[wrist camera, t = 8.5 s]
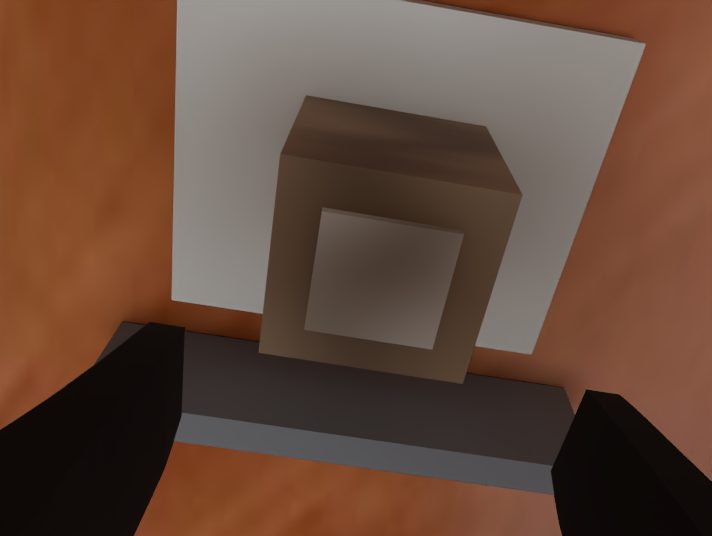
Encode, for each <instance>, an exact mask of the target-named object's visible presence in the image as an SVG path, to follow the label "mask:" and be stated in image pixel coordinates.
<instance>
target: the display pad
mask: <svg viewBox="0 0 712 536" xmlns="http://www.w3.org/2000/svg"><path fill="white" fill-rule="evenodd" d="M645 45H646V44H645V43H643V42H640V41H638V40H636V39H633V38H630V37H624V36H619V35H613V34H607V33H602V32H596V31H590V30H585V29H579V28H574V27H568V26H562V25H557V24H551V23H545V22H540V21H534V20H529V19H523V18H517V17H512V16H506V15H500V14H495V13H489V12H484V11H478V10H472V9H467V8H461V7H455V6H450V5H444V4H439V3H433V2H427V1H422V0H177V39H176V93H175V147H174V200H173V254H172V300H175V301H182V302H188V303H195V304H201V305H208V306H215V307H221V308H228V309H234V310H241V311H247V312H254V313H261V314H263V306H264V297H265V288H266V279H267V270H268V261H269V251H270V242H271V233H272V224H273V215H274V206H275V197H276V187H277V178H278V169H279V160H280V153H281V151H282V149H283V146H284V144H285V142H286V140H287V137H288V135H289V133H290V130H291V128H292V126H293V124H294V121H295V119H296V117H297V115H298V112H299V110H300V108H301V106H302V103H303V101H304V99H305V97H306V95H308V96H314V97H320V98H325V99H331V100H337V101H343V102H348V103H354V104H360V105H366V106H371V107H377V108H383V109H389V110H394V111H400V112H406V113H412V114H417V115H423V116H429V117H435V118H440V119H446V120H452V121H458V122H463V123H469V124H475V125H481V126H486V127H487V129H488V131H489V133H490V135H491V137H492V138H493V140H494V142H495V144H496V146H497V148H498V150H499V152H500V153H501V155H502V157H503V159H504V161H505V163H506V165H507V166H508V168H509V170H510V172H511V174H512V176H513V178H514V179H515V181H516V183H517V185H518V187H519V189H520V191H521V192H522V194H523V196H522V199H521V202H520V205H519V208H518V211H517V215H516V218H515V221H514V224H513V227H512V230H511V233H510V237H509V240H508V243H507V246H506V249H505V252H504V256H503V259H502V262H501V265H500V268H499V271H498V275H497V278H496V281H495V284H494V287H493V290H492V294H491V297H490V300H489V303H488V306H487V309H486V313H485V316H484V319H483V322H482V325H481V328H480V331H479V335H478V338H477V341H476V344H475V346H478V347H484V348H491V349H497V350H504V351H511V352H517V353H524V354H530V355H532V352H533V350H534V347H535V344H536V342H537V339H538V336H539V333H540V331H541V328H542V325H543V323H544V320H545V317H546V314H547V312H548V309H549V306H550V304H551V301H552V298H553V295H554V293H555V290H556V287H557V284H558V282H559V279H560V276H561V274H562V271H563V268H564V265H565V263H566V260H567V257H568V255H569V252H570V249H571V246H572V244H573V241H574V238H575V236H576V233H577V230H578V227H579V225H580V222H581V219H582V217H583V214H584V211H585V208H586V206H587V203H588V200H589V198H590V195H591V192H592V189H593V187H594V184H595V181H596V178H597V176H598V173H599V170H600V168H601V165H602V162H603V159H604V157H605V154H606V151H607V149H608V146H609V143H610V140H611V138H612V135H613V132H614V130H615V127H616V124H617V121H618V119H619V116H620V113H621V111H622V108H623V105H624V102H625V100H626V97H627V94H628V92H629V89H630V86H631V83H632V81H633V78H634V75H635V73H636V70H637V67H638V64H639V62H640V59H641V56H642V53H643V51H644V48H645Z"/></svg>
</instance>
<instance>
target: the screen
mask: <svg viewBox="0 0 712 536" xmlns="http://www.w3.org/2000/svg"><path fill="white" fill-rule="evenodd" d="M144 326H145V325H141V324H134V323H127V322H122V323H121V324H120V326H119V327H118V329H117V331H116V332H115V334H114V335H113V337H112V338H111V340H110V341H109V343H108V344H107V346H106V347H105V349H104V350H103V352H102V353H101V355H100V356H99V358H98V360H97V361H96V363H97V362H99V361H100V360H101V359H103V358H104V357H105V356H106V355H108V354H109V353H110V352H112V351H113V350H114V349H115V348H117V347H118V346H119V345H121V344H122V343H123V342H124V341H126V340H127V339H128V338H129V337H131V336H132V335H133V334H134V333H136V332H137V331H138V330H140V329H141V328H142V327H144ZM259 343H260V342H254V341H248V340H241V339H234V338H227V337H221V336H214V335H207V334H201V333H194V332H187V331H185V339H184V366H183V393H182V417H181V420H180V423H179V426H178V429H177V433H176V436H175V439H174V441H177V442H184V443H191V444H198V445H205V446H213V447H220V448H227V449H234V450H241V451H248V452H255V453H262V454H269V455H276V456H283V457H290V458H297V459H304V460H312V461H319V462H326V463H333V464H340V465H347V466H354V467H361V468H368V469H375V470H382V471H389V472H396V473H403V474H411V475H418V476H425V477H432V478H439V479H446V480H453V481H460V482H467V483H474V484H481V485H488V486H495V487H503V488H510V489H517V490H524V491H531V492H538V493H545V494H552V495H554V490H553V483H552V477H551V469H552V467H553V464H554V462H555V460H556V458H557V455H558V453H559V451H560V449H561V446H562V444H563V442H564V439H565V437H566V435H567V433H568V430H569V428H570V426H571V423H572V421H573V419H574V417H575V414H574V412H573V409H572V407H571V404H570V402H569V399H568V397H567V394H566V392H565V389H564V388H561V387H555V386H548V385H541V384H535V383H528V382H521V381H515V380H508V379H501V378H495V377H488V376H481V375H475V374H468V373H466V376H465V379H464V382H463V384H460V383H453V382H447V381H440V380H434V379H427V378H421V377H414V376H408V375H401V374H394V373H388V372H381V371H375V370H368V369H362V368H355V367H349V366H342V365H336V364H329V363H322V362H316V361H309V360H303V359H296V358H290V357H283V356H277V355H270V354H264V353H258V352H259ZM96 363H95V364H96ZM95 364H94V365H95Z"/></svg>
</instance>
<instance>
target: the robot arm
mask: <svg viewBox="0 0 712 536" xmlns="http://www.w3.org/2000/svg"><path fill="white" fill-rule="evenodd" d="M184 339H185V328H184V327H178V326H171V325H165V324H158V323H152V322H150V323H148V324H147V325H145V326H144V327H142V328H141V329H140V330H138V331H137V332H136V333H134V334H133V335H132V336H131V337H129V338H128V339H127V340H126V341H124V342H123V343H122V344H121V345H119V346H118V347H117V348H115V349H114V350H113V351H112V352H110V353H109V354H108V355H106V356H105V357H104V358H103V359H101V360H100V361H99V362H97V363H96V364H95V365H94V366H92V367H91V368H89V369H88V370H87V371H85V372H84V373H83V374H81V375H80V376H79V377H77V378H76V379H75V380H73V381H72V382H70V383H69V384H68V385H66V386H65V387H64V388H62V389H61V390H60V391H58V392H57V393H55V394H54V395H52V396H51V397H50V398H48V399H47V400H45V401H44V402H42V403H41V404H39V405H38V406H36V407H35V408H33V409H32V410H30V411H28V412H27V413H25V414H24V415H22V416H21V417H19V418H18V419H16V420H15V421H13V422H12V423H10V424H9V425H7V426H6V427H4V428H2V429H1V430H0V536H134V534H135V532H136V530H137V528H138V525H139V523H140V521H141V519H142V517H143V515H144V513H145V510H146V508H147V506H148V504H149V502H150V500H151V497H152V495H153V493H154V491H155V489H156V486H157V484H158V482H159V480H160V478H161V476H162V473H163V471H164V469H165V466H166V463H167V460H168V457H169V454H170V451H171V448H172V445H173V442H174V439H175V436H176V433H177V429H178V426H179V423H180V420H181V417H182V393H183V366H184ZM551 477H552V483H553V490H554V497H555V503H556V509H557V514H558V520H559V525H560V529H561V532H562V536H712V481H711V480H709V479H708V478H707V477H706V476H705V475H704V474H703V473H702V472H701V471H700V470H699V469H698V468H697V467H696V466H695V465H694V464H693V463H692V462H691V461H690V460H688V459H687V458H686V457H685V456H684V455H683V454H682V453H681V452H680V451H679V450H678V449H677V448H676V447H675V446H674V445H673V444H672V443H671V442H670V441H669V440H668V439H667V438H666V437H665V436H664V435H663V434H662V433H661V432H660V431H659V430H657V429H656V428H655V427H654V426H653V425H652V424H651V423H650V422H649V421H648V420H647V419H646V418H645V417H644V416H643V415H642V414H641V413H640V412H639V411H637V410H636V409H635V408H634V407H633V406H632V405H631V404H630V403H629V402H627V401H626V400H625V399H624V398H623V397H622V396H620V395H618V394H612V393H605V392H599V391H592V390H586V392H585V394H584V396H583V398H582V401H581V403H580V405H579V408H578V410H577V412H576V414H575V417H574V419H573V421H572V423H571V426H570V428H569V430H568V433H567V435H566V437H565V439H564V442H563V444H562V446H561V449H560V451H559V453H558V455H557V458H556V460H555V462H554V464H553V467H552V469H551Z"/></svg>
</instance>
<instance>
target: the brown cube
mask: <svg viewBox="0 0 712 536" xmlns="http://www.w3.org/2000/svg"><path fill="white" fill-rule="evenodd" d="M522 196H523V194H522V192H521V191H520V189H519V187H518V185H517V183H516V181H515V179H514V178H513V176H512V174H511V172H510V170H509V168H508V166H507V165H506V163H505V161H504V159H503V157H502V155H501V153H500V152H499V150H498V148H497V146H496V144H495V142H494V140H493V138H492V137H491V135H490V133H489V131H488V129H487V127H486V126H481V125H475V124H469V123H463V122H458V121H452V120H446V119H440V118H435V117H429V116H423V115H417V114H412V113H406V112H400V111H394V110H389V109H383V108H377V107H371V106H366V105H360V104H354V103H348V102H343V101H337V100H331V99H325V98H320V97H314V96H308V95H306V97H305V99H304V101H303V103H302V106H301V108H300V110H299V112H298V115H297V117H296V119H295V121H294V124H293V126H292V128H291V130H290V133H289V135H288V137H287V140H286V142H285V144H284V146H283V149H282V151H281V153H280V160H279V169H278V178H277V187H276V197H275V206H274V215H273V224H272V233H271V242H270V251H269V261H268V270H267V279H266V288H265V297H264V306H263V315H262V325H261V334H260V343H259V352H258V353H264V354H270V355H277V356H283V357H290V358H296V359H303V360H309V361H316V362H322V363H329V364H336V365H342V366H349V367H355V368H362V369H368V370H375V371H381V372H388V373H394V374H401V375H408V376H414V377H421V378H427V379H434V380H440V381H447V382H453V383H460V384H463V382H464V379H465V376H466V373H467V369H468V366H469V363H470V360H471V357H472V354H473V350H474V347H475V344H476V341H477V338H478V335H479V331H480V328H481V325H482V322H483V319H484V316H485V313H486V309H487V306H488V303H489V300H490V297H491V294H492V290H493V287H494V284H495V281H496V278H497V275H498V271H499V268H500V265H501V262H502V259H503V256H504V252H505V249H506V246H507V243H508V240H509V237H510V233H511V230H512V227H513V224H514V221H515V218H516V215H517V211H518V208H519V205H520V202H521V199H522Z"/></svg>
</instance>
